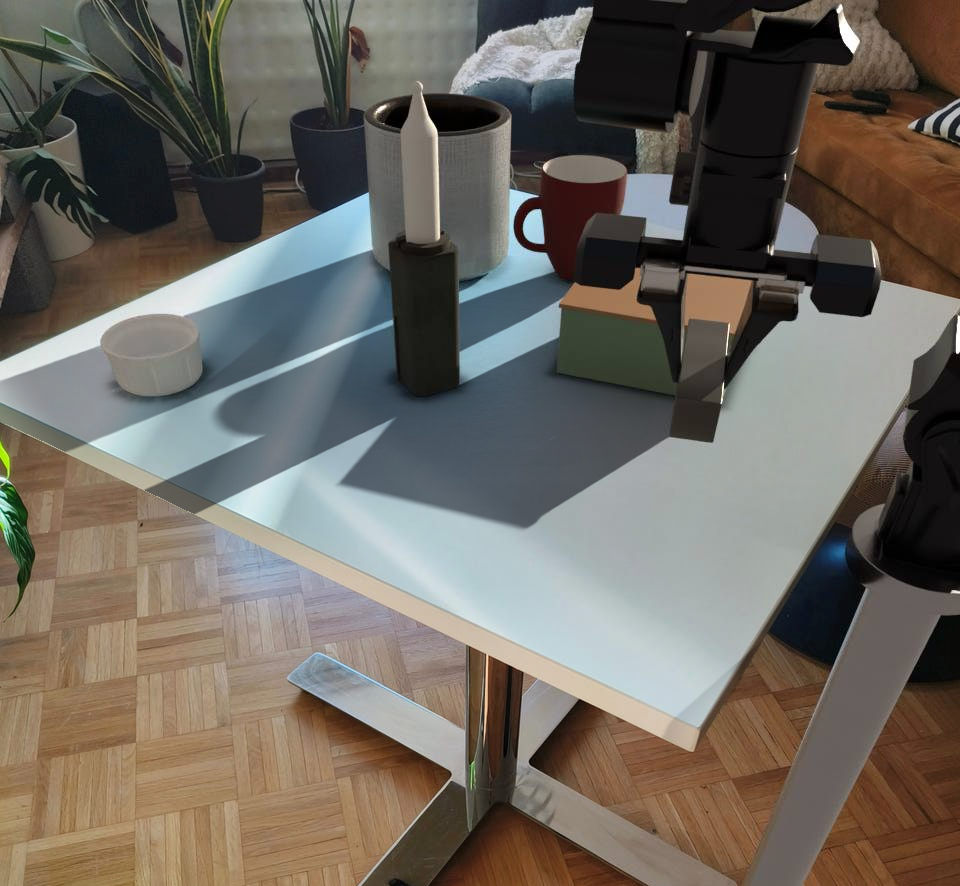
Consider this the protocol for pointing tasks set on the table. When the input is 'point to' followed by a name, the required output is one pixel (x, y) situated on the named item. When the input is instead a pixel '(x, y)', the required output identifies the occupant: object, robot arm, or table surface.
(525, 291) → the table surface
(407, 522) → the table surface
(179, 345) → the ramekin
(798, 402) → the table surface
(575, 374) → the bread box
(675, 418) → the stick
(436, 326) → the candle
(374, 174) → the planter
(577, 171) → the mug
